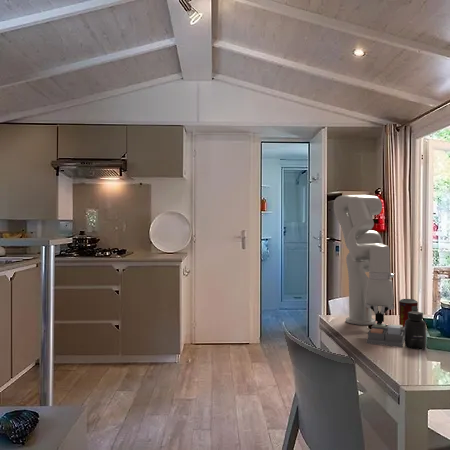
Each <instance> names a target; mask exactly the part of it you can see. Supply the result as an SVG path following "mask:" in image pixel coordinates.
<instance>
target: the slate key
mask: <svg viewBox="0 0 450 450" xmlns="http://www.w3.org/2000/svg"><path fill="white" fill-rule="evenodd" d="M388 325H389V326H388V334H392V335H400V334H401V326H396V325H397V324H395V325H392V324H388Z"/></svg>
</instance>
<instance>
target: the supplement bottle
mask: <svg viewBox="0 0 450 450" xmlns="http://www.w3.org/2000/svg"><path fill="white" fill-rule="evenodd" d="M408 318H409V319H407V320H406V321H405V340H404V345H405V347H406V348H408V349H413V350H425V349H426V348H427V323H426V321H425V320H423V319H424V313H423V312H420V311H418V312H414V311H411V312H408Z"/></svg>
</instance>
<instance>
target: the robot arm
mask: <svg viewBox="0 0 450 450" xmlns="http://www.w3.org/2000/svg"><path fill="white" fill-rule="evenodd" d="M382 210H383V204H382V200H381V198H379V196H377V195H371V194H345V195H344V194H343V195H339V196H337V197H336V198H335V199H334V202H333V212H334V216H335V218H336V220H337V221H338V224H339V225H340V228H341V231H342V235H343V240H344V243H345V246H346V249H347V250H348V253H347V254H346V257H345V258H346V259H345V261H346V266H347V267H346V268H347V275H348V314H349V317H346V318H345V322H346V323H347V324H351V325H357V326H358V325H359V326H368V325H373V324H375V323H377V324H383V323H384V322H385V313H386V312H388V311H390V310H392V311H393V310H394V309H395V304H394V303H395V301H394V300H395V296H394V295H395V293H394V284H393V280H392V279H393V278H395V277H394V274H395V273H394V274H393V273H392V272H390V271H391V270H390V265H391V264H390V261H391V259H390V256H391V255H390V247H389V245H386V244H384V242H383V238H382V236H381V234H380V233H379V232H378V231H376V230H372V229H373V228H374V225H375V222H374V219H373V216H378V215H379V214H381V212H382ZM366 273H368V274H369V275H367V274H366ZM379 307H381V309H380V311H379ZM372 311H373V313H374V315H375V316H374V317H375V318H373V315H372V314H373V313H372Z"/></svg>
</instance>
